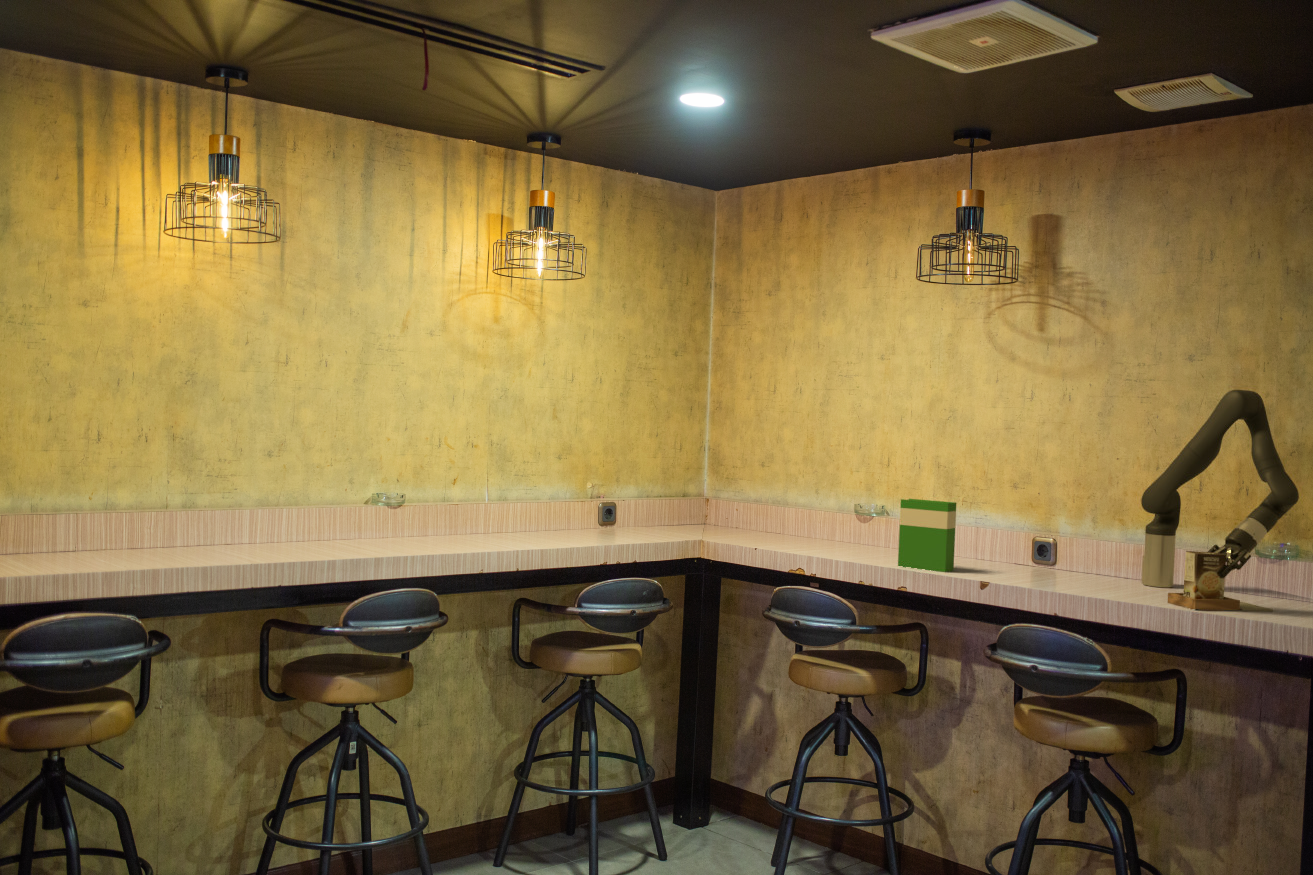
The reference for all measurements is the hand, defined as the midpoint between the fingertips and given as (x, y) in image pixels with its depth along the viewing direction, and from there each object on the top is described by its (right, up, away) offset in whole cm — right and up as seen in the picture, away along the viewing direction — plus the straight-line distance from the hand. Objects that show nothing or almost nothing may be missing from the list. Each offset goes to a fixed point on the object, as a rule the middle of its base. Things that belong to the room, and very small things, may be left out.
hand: (1209, 574), depth 317 cm
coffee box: (-2, -10, 0) cm, 10 cm away
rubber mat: (+11, -10, +2) cm, 15 cm away
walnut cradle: (-2, -10, 0) cm, 10 cm away
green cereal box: (-68, -6, +63) cm, 93 cm away
